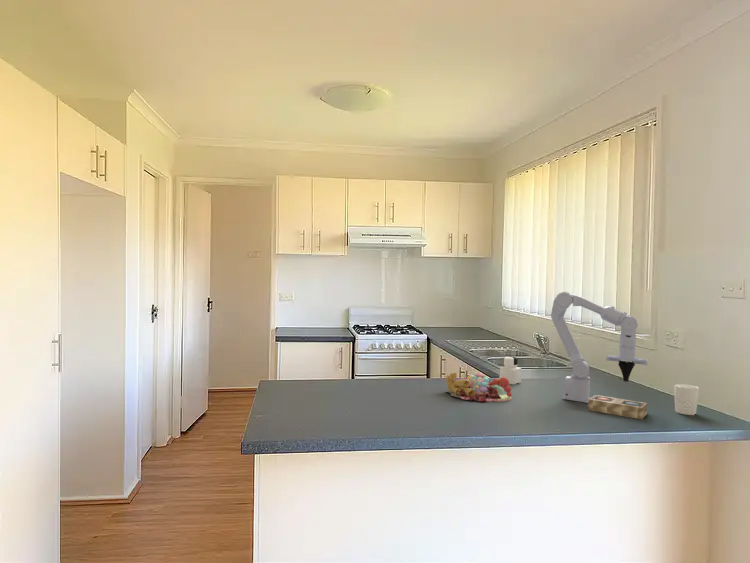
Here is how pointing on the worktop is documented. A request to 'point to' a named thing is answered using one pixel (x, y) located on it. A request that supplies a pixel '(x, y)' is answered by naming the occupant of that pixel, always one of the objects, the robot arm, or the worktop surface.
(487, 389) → the assorted food platter
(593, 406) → the peg block
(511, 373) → the medicine bottle
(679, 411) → the white cup
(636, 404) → the blue peg
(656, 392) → the worktop surface
